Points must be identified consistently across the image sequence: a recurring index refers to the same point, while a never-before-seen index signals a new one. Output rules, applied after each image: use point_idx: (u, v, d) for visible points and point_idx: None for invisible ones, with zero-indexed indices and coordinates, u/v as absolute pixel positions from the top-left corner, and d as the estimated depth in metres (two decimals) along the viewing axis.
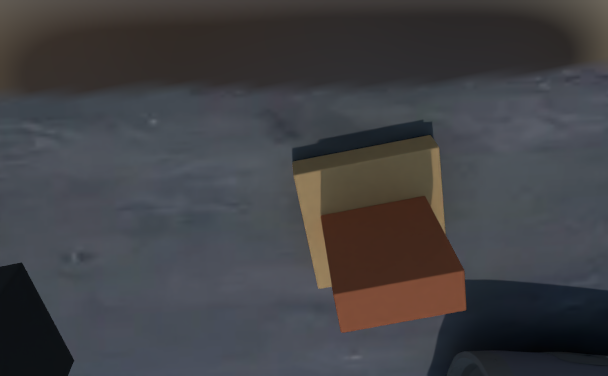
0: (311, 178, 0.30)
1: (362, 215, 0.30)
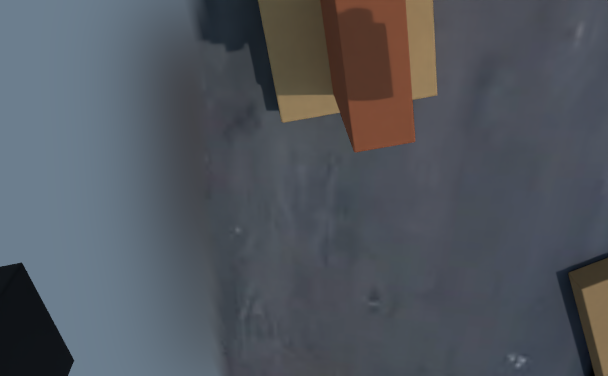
0: (286, 104, 0.27)
1: (329, 53, 0.25)
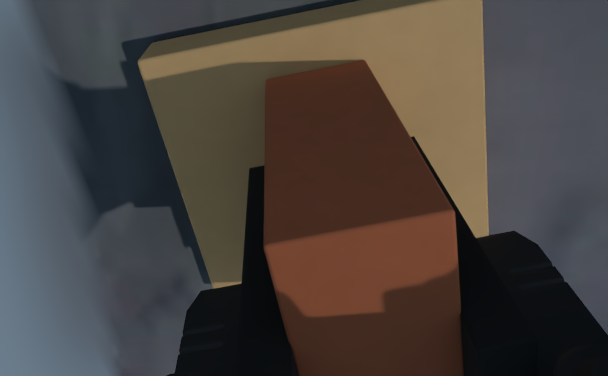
0: None
1: None
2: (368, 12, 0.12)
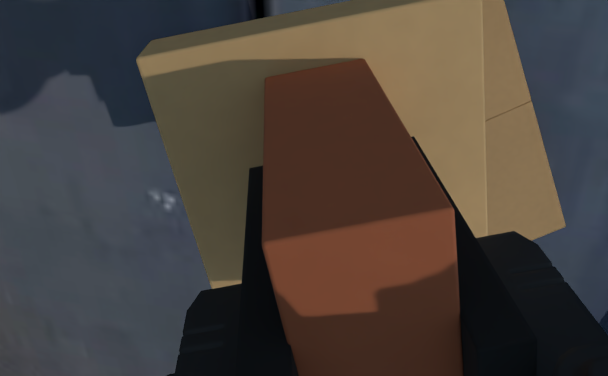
0: None
1: None
2: (368, 10, 0.12)
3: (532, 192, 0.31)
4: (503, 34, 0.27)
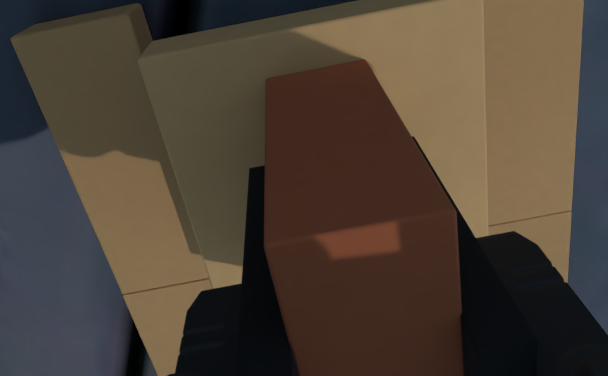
0: None
1: None
2: (369, 11, 0.12)
3: None
4: (564, 103, 0.17)
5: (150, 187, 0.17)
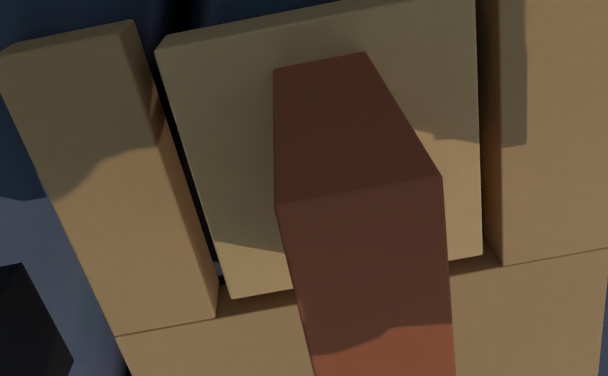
0: (236, 275, 0.17)
1: None
2: (369, 7, 0.13)
3: None
4: (606, 131, 0.15)
5: (144, 222, 0.16)
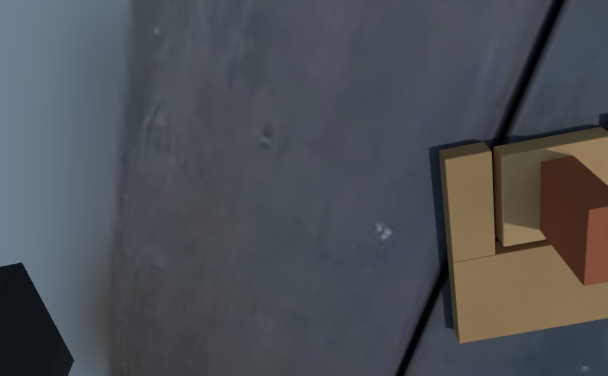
0: (508, 236, 0.43)
1: (544, 210, 0.41)
2: (576, 141, 0.39)
3: None
4: None
5: (480, 215, 0.42)
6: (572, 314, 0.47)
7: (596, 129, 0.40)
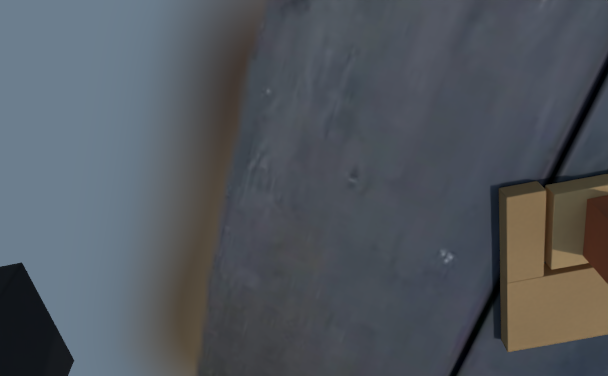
0: (555, 261, 0.49)
1: (589, 239, 0.47)
2: None
3: None
4: None
5: (533, 243, 0.48)
6: (606, 326, 0.54)
7: None
